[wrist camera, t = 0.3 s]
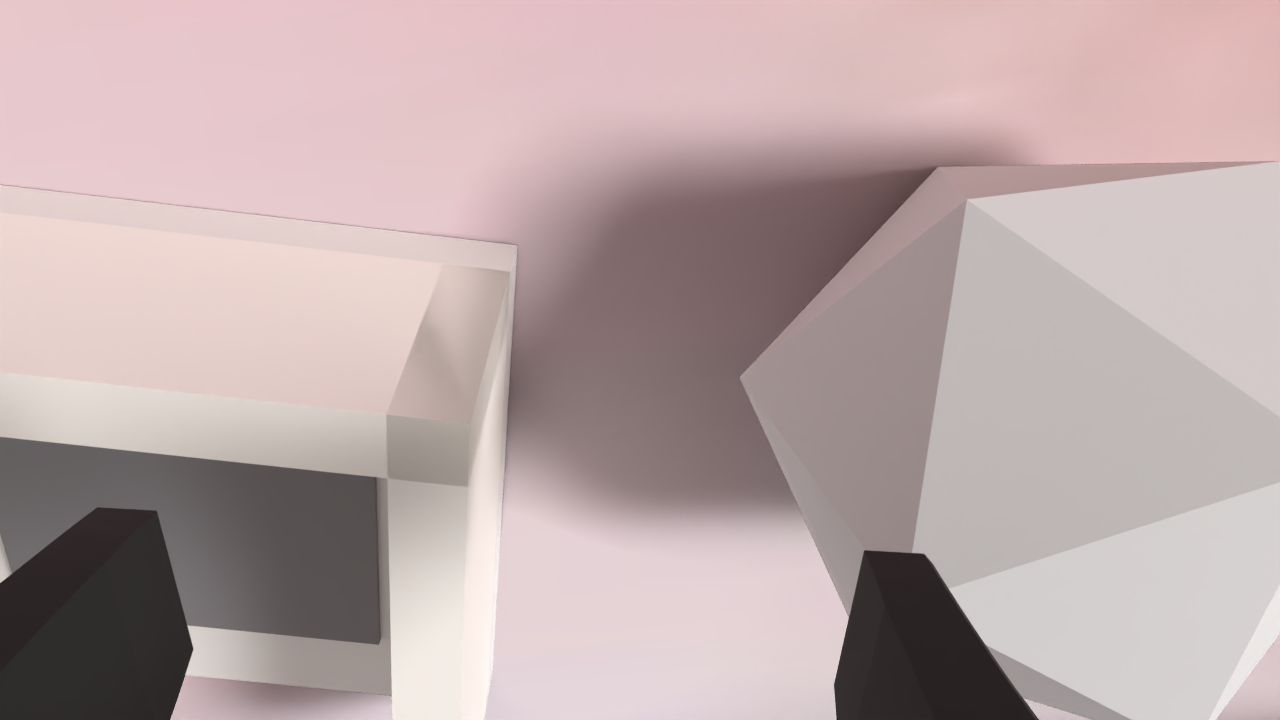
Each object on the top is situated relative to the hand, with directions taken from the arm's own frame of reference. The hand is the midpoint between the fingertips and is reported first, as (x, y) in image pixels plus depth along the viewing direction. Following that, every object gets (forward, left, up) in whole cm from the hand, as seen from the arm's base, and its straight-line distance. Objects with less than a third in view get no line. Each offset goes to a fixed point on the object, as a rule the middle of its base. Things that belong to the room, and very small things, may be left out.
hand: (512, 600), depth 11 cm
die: (-1, -8, -10) cm, 13 cm away
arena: (-7, +9, -10) cm, 15 cm away
